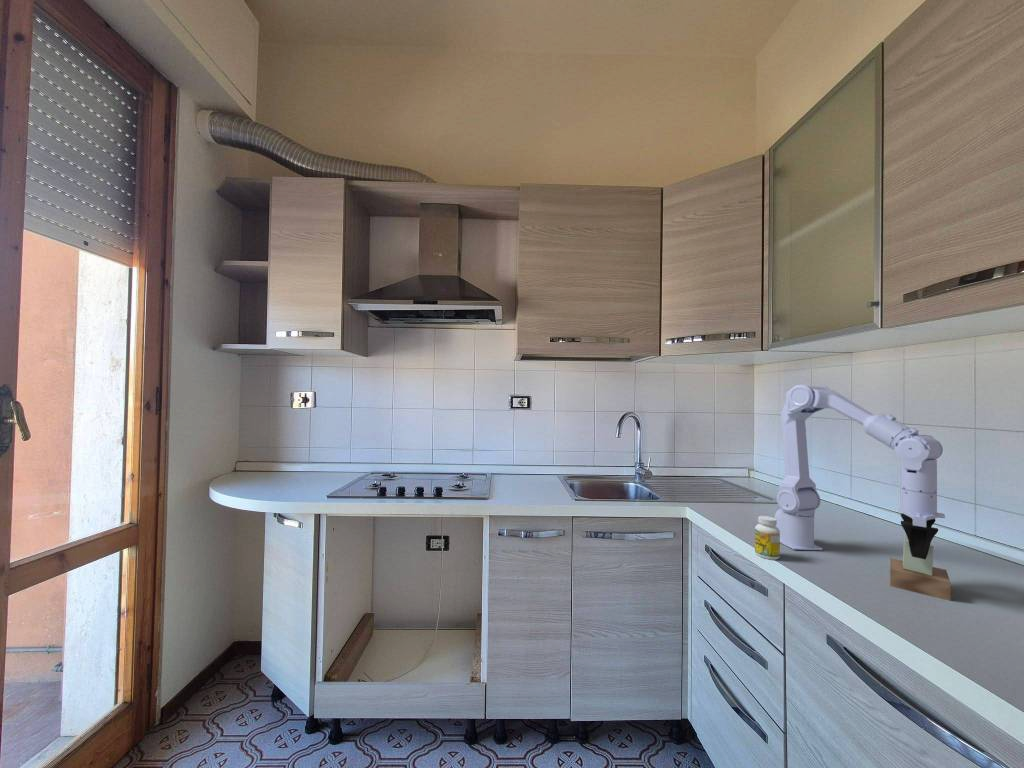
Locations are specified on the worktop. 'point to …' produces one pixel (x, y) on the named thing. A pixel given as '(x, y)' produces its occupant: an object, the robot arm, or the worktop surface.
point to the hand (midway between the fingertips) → (918, 553)
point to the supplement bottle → (767, 538)
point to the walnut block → (920, 580)
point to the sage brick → (917, 560)
